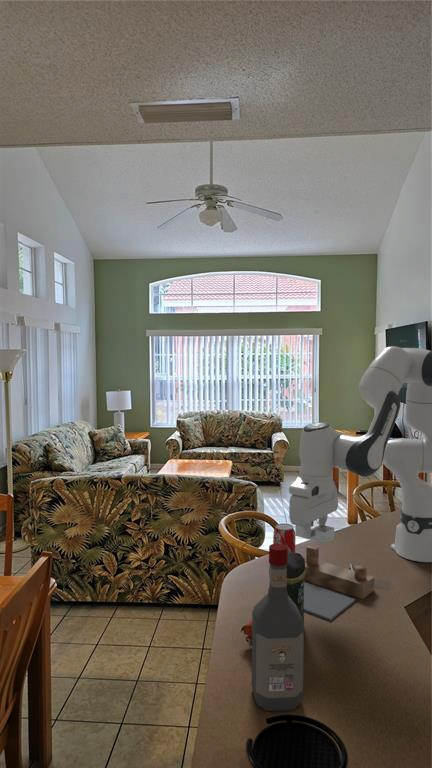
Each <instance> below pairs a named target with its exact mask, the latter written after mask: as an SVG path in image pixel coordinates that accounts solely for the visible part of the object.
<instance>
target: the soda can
mask: <svg viewBox="0 0 432 768" xmlns="http://www.w3.org/2000/svg"><path fill="white" fill-rule="evenodd" d="M294 528H295V526H293V524H290V523H278V524H276V525H275V528H274V530H273V535H272V536H273V537H272V538H273V541H272V544H284V545H286V546H288V551H290V552H294V553H296V536H295V534H296V530H295V529H294Z"/></svg>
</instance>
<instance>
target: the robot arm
mask: <svg viewBox="0 0 432 768" xmlns="http://www.w3.org/2000/svg"><path fill="white" fill-rule="evenodd" d="M361 376H362V377H361V379H360V381H359V384H358V391H359V394H360V397H361V399H362V400H363V401H364V402H365V403H366V404H367V405H368V406H370V407H371V408H372V409H373V410H375V414H374V415H373V418H372V421H371V423H370V425H369V428H368V430H367V432H366V433H365V434H364V435H362V436H361V435H360V436H356V435H351V434H346V433H342V432H340V431H338V430H336V429H334V428H333V427H332V426H331V424H329V423H327V422H312V423H309V424H307V425H306V426H304V427H303V428H302V430H301V434H300V439H299V460H300V466H299V470H298V471H299V472H298V474H299V475H298V476H297V478H296V479H295V480H294V481H293V482H292V483H291V485H289V486H288V493H289V495H291V496H290V497H289V502H288V503H289V506H288V509H289V511H288V513H289V514H288V515H289V522H290V523H291V525H292V526H293V525H294V526H296V525H297V526H303V529H304V536H305V537H307V538H311V537H312V536H313V530H311V527H310V526H311V525H312V522H313V523H314V521H317V520H318V523H317V524H321V525H325V526H326V523H327V520H328V518H329V517H328V515H330V514H332V513H334V512H336V511H337V510H338V508H339V495H338V493H339V492H338V488H337V486H336V481H334V478H333V476H334V475H333V469H334V468H335V469H339V470H342V471H347V472H351V473H353V474H355V475H358V476H359V477H360V476H361V477H362V478H363V477H366V478H367V477H370V476H373V474H375V473H376V472H377V471H379V469H380V468H381V466H382V464H383V465H384V466H385V468H387V469H388V470H389V471H390V472H391V473H393V475H394V476H395V477H396V479H397V480H398V483H399V485H400V488H401V498H402V504H401V505H402V508H401V510H400V516H399V517H400V523H399V524H397V525H396V528H395V529H396V530H395V537H394V540H395V541H394V543H391V545H390V549H392V550H393V551H394V552H395V553H396V554H397V555H398V556H400V557H402V558H403V559H407V560H410V561H413V562H414V561H415V562H420V563H432V484H430V483H428V482H426V481H424V480H423V479H422V478H420V477H419V474H420V473H425V474H428V473H429V474H432V350H429V349H425V348H419V347H417V348H416V347H400V346H393V345H390V346H387V347H385V348H383V350H381V351H380V352H379V353H378V355H377V356H375V357H374V359H373V360H372V361H371V363H370V364H369V366H368V367H367V368H366V370H365V372H364V373H363V375H361ZM404 384H407V387H406V395H405V413H404V415H405V416H404V418H405V422H406V424H407V425H408V426H409V427H411V429H414V430H416V431H417V432H419V433H420V434H423V435H424V438H406V437H405V438H404V437H403V438H401V437H399V438H392V439H390V437H391V434H392V431H393V429H394V427H395V424H396V421H397V418H398V416H399V412H400V409H401V399H400V396H399V393H400V391H401V389H402V387H403V385H404Z"/></svg>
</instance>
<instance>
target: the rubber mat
mask: <svg viewBox="0 0 432 768" xmlns="http://www.w3.org/2000/svg"><path fill="white" fill-rule="evenodd" d="M356 600H357V599H356V598H353V597H350V596H347V595H346V594H345V595H344V594H341V593H339V592H336V591H332V590H329V589H328V588H324V587H320V586H317V585H314V584H311V583H308V582H307V581H306V582H305V581H304V613H309V614H311V615H313V616H316V617H319V618H321V619H324V620H327V621H330V622H331V621H333V620H334V619H335V618H337V617H339V616H340V614H342V613H343V612H345V610H347V609H348V608H349V607H350V606H351V605H353V604H354V603H355V602H356Z"/></svg>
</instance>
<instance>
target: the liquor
mask: <svg viewBox="0 0 432 768" xmlns="http://www.w3.org/2000/svg"><path fill="white" fill-rule="evenodd" d="M268 564H269V567H270V577H269V587H268V589H267V594H266V595H264V597H262V599H260V600H259V601H258V602H257V603H256V604H255V605H254V607H253V610H252V612H251V613H252V615H251V616H252V618H251V619H252V620H251V621H252V646H251V687H252V693H253V696H254V699H255V704H256V705H257V706H258V707H259V708H261V709H263V710H265V711H267V712H281V711H282V712H284V711H294V710H296V708H297V707H298V706H300V704H301V703H302V701H303V700H304V655H305V654H304V652H305V651H304V647H305V644H304V643H305V640H304V639H305V621H304V622H303V619H302V616H301V614H300V612H299V610H298V608H297V606H296V604H295V603H294V602H293V601H292V600H291V598H290V597H289V596H288V593H287V564H288V546H286V545H284V544H273V543H272V544H270V545H269V547H268Z"/></svg>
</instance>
